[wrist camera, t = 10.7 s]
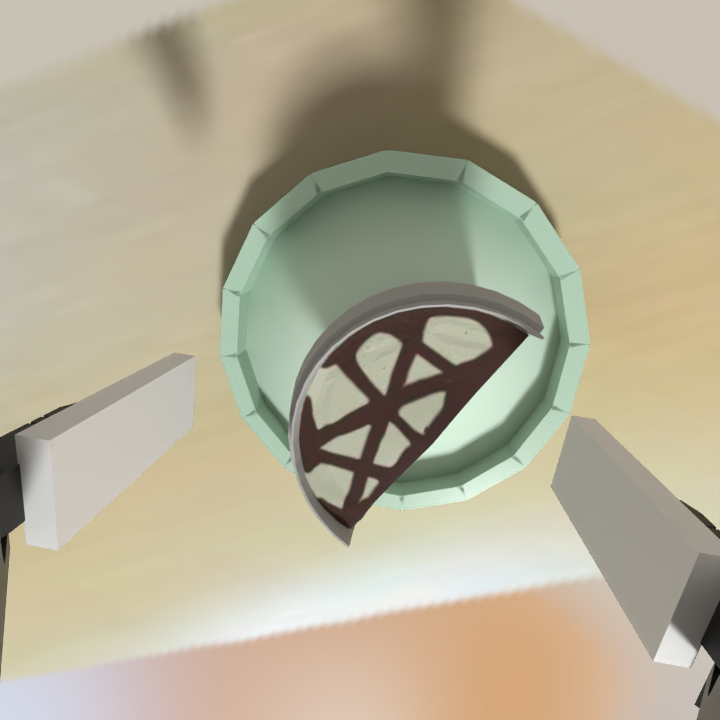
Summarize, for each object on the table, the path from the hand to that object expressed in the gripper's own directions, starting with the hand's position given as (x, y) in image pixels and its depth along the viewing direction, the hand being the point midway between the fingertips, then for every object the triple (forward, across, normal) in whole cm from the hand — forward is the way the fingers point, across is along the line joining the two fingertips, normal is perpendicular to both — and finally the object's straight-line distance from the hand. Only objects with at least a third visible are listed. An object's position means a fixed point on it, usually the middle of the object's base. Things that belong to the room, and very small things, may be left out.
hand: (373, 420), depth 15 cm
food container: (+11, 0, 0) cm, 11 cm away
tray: (+12, +1, 0) cm, 12 cm away
